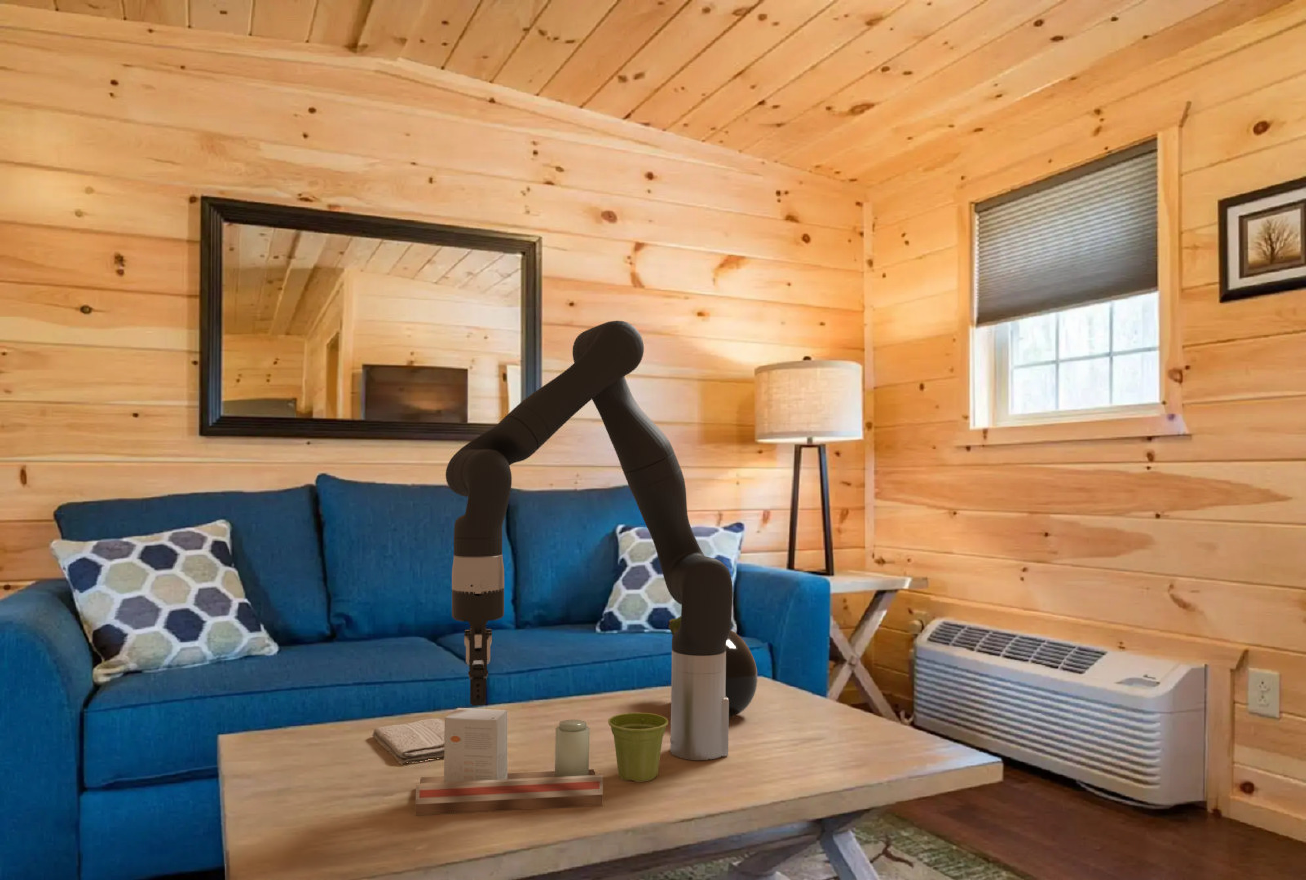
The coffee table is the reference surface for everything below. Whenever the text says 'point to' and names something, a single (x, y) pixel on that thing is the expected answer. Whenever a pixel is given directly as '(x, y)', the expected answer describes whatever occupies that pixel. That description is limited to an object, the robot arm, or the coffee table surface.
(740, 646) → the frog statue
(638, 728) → the plant pot
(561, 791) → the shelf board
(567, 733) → the sage jar
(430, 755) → the washcloth
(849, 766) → the coffee table surface
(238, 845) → the coffee table surface
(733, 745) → the coffee table surface
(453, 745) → the small box
